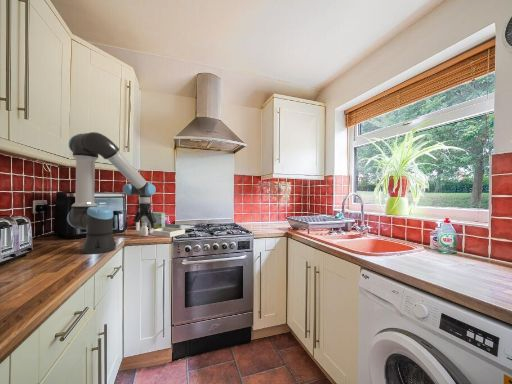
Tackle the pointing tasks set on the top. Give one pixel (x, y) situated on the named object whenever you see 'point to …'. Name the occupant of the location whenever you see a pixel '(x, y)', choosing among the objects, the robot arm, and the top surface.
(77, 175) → the robot arm
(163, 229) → the mailer box
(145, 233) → the pepper shaker
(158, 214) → the snack box
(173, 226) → the mailer lid
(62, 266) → the top surface
